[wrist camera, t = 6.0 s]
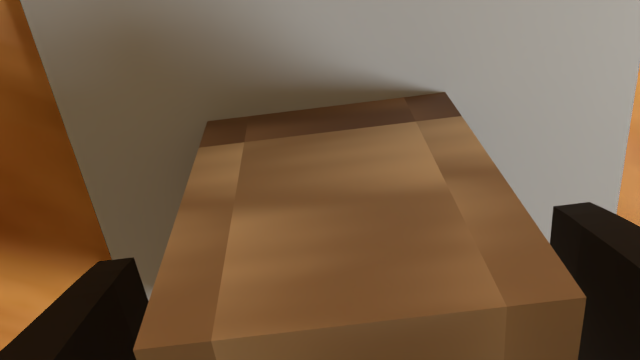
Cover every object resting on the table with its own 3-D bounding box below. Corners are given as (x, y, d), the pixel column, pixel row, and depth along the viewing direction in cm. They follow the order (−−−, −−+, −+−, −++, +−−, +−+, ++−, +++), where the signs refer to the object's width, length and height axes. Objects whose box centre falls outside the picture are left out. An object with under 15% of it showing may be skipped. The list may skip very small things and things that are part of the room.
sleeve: (247, 305, 13) (220, 591, 8) (207, 121, 11) (132, 349, 6) (446, 281, 13) (549, 554, 8) (445, 92, 11) (586, 297, 6)
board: (202, 486, 17) (199, 505, 17) (-80, -338, 8) (-105, -352, 8) (569, 443, 17) (577, 462, 17) (693, -443, 8) (721, -465, 8)
